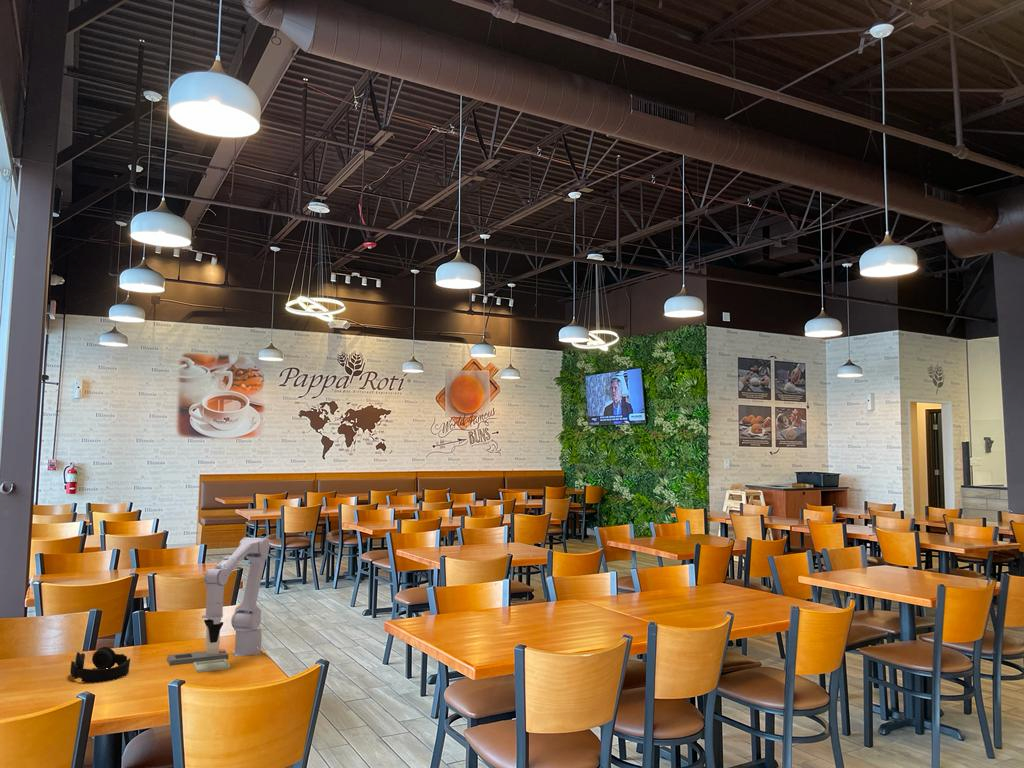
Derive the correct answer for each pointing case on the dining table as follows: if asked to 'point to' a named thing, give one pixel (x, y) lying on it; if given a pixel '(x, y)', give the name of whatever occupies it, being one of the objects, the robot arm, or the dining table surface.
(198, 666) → the tray
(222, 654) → the power strip
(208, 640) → the plug
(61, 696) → the dining table surface
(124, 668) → the headphones
